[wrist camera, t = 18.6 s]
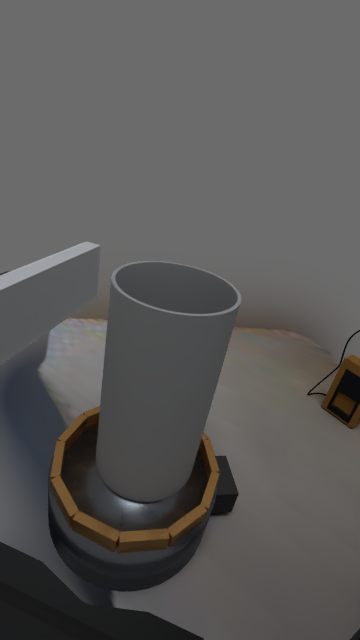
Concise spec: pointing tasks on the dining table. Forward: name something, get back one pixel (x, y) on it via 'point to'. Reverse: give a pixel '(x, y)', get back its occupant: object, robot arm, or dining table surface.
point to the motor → (128, 514)
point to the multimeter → (345, 391)
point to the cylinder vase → (160, 374)
